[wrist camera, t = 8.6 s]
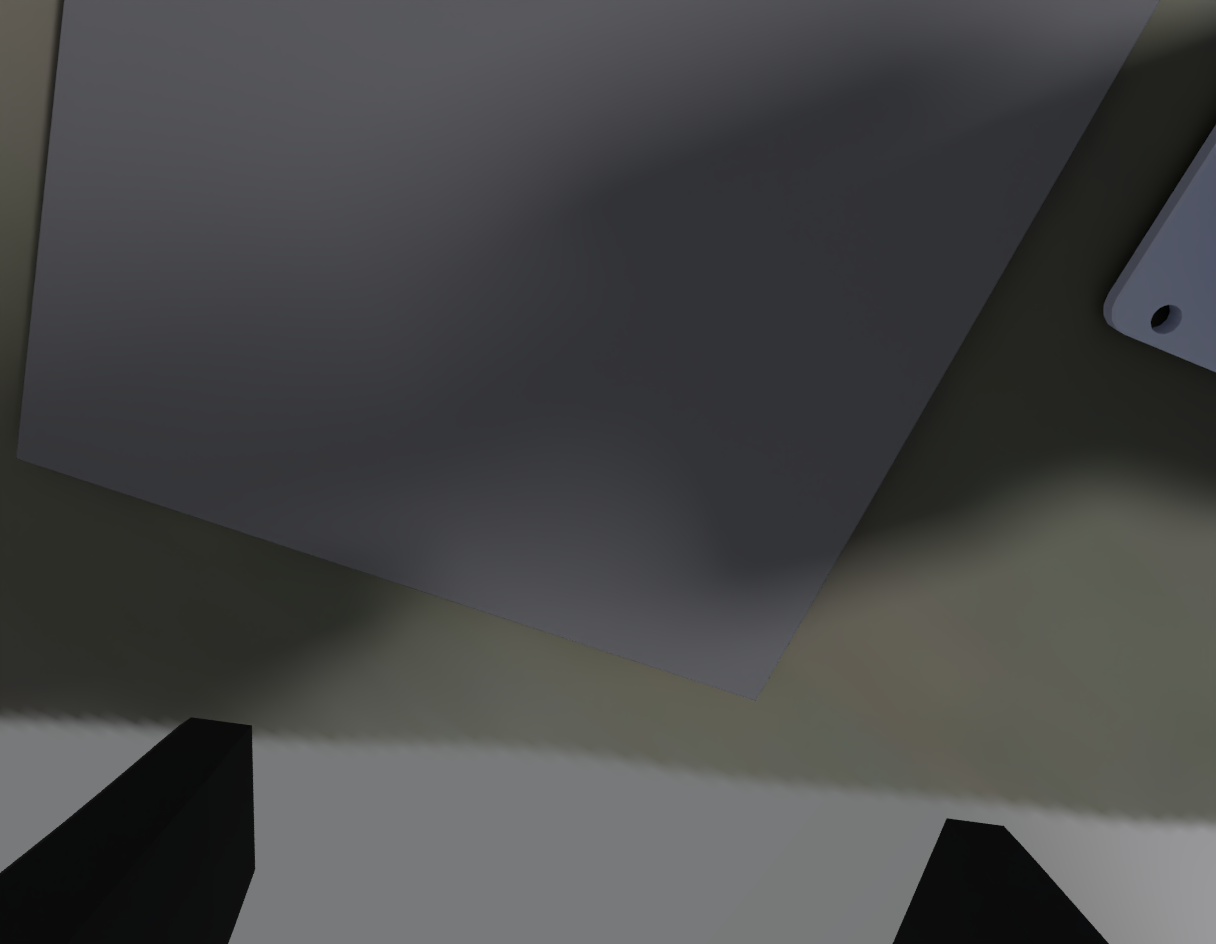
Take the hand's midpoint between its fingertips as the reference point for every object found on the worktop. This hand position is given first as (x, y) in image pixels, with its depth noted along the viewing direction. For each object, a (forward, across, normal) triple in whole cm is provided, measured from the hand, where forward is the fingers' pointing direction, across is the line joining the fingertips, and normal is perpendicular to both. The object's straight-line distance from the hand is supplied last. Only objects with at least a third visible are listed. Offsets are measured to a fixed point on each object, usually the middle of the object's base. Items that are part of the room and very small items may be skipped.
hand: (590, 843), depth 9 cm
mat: (+9, +2, -4) cm, 11 cm away
